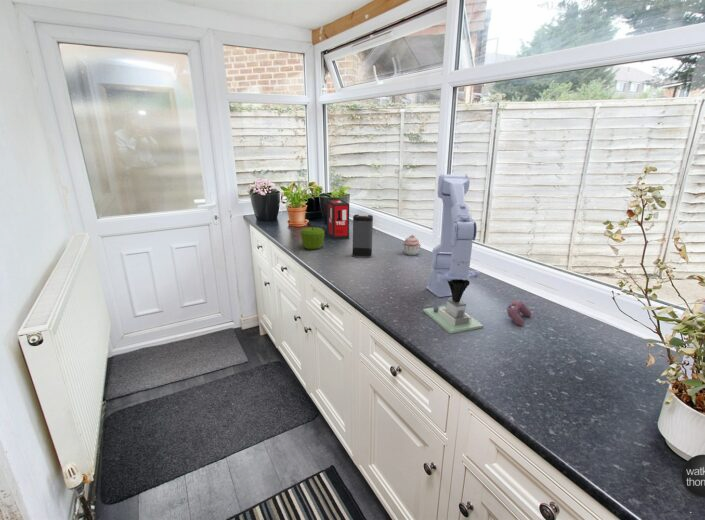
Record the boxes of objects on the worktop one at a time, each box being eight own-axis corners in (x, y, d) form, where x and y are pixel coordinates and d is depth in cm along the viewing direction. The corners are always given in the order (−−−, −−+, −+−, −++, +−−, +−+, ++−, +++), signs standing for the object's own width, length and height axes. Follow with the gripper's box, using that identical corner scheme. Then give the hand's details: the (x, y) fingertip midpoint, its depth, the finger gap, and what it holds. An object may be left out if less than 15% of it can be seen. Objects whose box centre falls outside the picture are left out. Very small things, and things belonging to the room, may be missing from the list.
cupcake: (400, 255, 185) (401, 236, 182) (402, 250, 194) (403, 231, 191) (419, 257, 183) (421, 237, 180) (421, 252, 192) (422, 233, 189)
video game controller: (518, 317, 126) (512, 297, 126) (532, 315, 123) (525, 295, 123) (509, 328, 119) (502, 307, 119) (524, 326, 116) (516, 305, 116)
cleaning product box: (348, 238, 215) (349, 204, 208) (333, 239, 212) (333, 204, 206) (341, 232, 230) (341, 199, 223) (327, 232, 227) (326, 200, 221)
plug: (445, 315, 121) (447, 299, 119) (454, 314, 122) (456, 297, 121) (455, 323, 116) (457, 306, 114) (464, 322, 117) (467, 304, 116)
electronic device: (371, 254, 186) (373, 214, 180) (371, 258, 181) (372, 217, 175) (353, 253, 187) (353, 214, 181) (352, 257, 182) (352, 216, 175)
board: (423, 311, 126) (423, 303, 125) (453, 306, 130) (454, 299, 129) (449, 333, 112) (450, 325, 111) (483, 327, 116) (484, 319, 115)
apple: (323, 251, 190) (323, 230, 186) (299, 251, 190) (298, 229, 186) (325, 244, 201) (325, 224, 198) (303, 244, 202) (302, 224, 198)
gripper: (447, 266, 108) (443, 309, 112) (488, 261, 112) (483, 303, 117) (434, 259, 114) (430, 299, 118) (474, 255, 119) (469, 294, 123)
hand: (455, 300), depth 118 cm, fingers closed
